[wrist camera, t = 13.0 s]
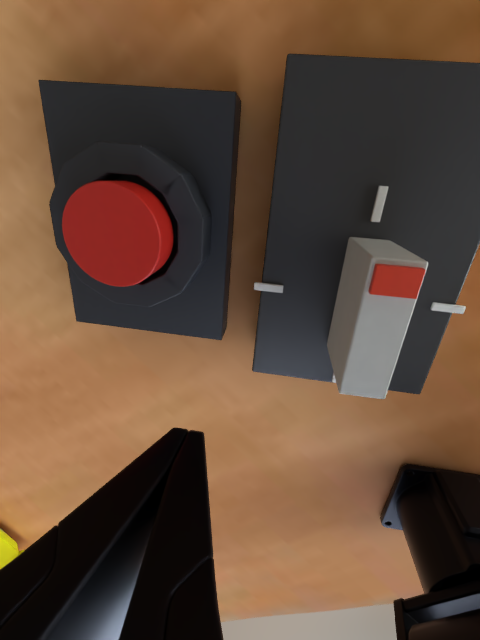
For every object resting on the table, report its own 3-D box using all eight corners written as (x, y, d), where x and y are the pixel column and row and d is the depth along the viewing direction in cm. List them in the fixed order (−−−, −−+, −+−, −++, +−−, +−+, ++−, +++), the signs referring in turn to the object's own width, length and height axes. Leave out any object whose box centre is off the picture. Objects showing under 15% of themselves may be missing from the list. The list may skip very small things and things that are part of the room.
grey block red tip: (362, 350, 16) (387, 404, 12) (326, 345, 16) (339, 398, 12) (391, 239, 13) (433, 263, 10) (348, 236, 14) (373, 258, 10)
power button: (174, 281, 15) (162, 292, 14) (90, 271, 16) (69, 281, 14) (173, 184, 14) (159, 185, 12) (78, 176, 14) (52, 176, 12)
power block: (226, 328, 20) (215, 356, 17) (91, 310, 20) (56, 334, 17) (241, 100, 15) (229, 78, 12) (62, 89, 15) (5, 66, 12)
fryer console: (407, 365, 19) (428, 398, 16) (250, 345, 20) (245, 372, 17) (505, 89, 13) (566, 64, 10) (278, 76, 14) (277, 50, 11)
